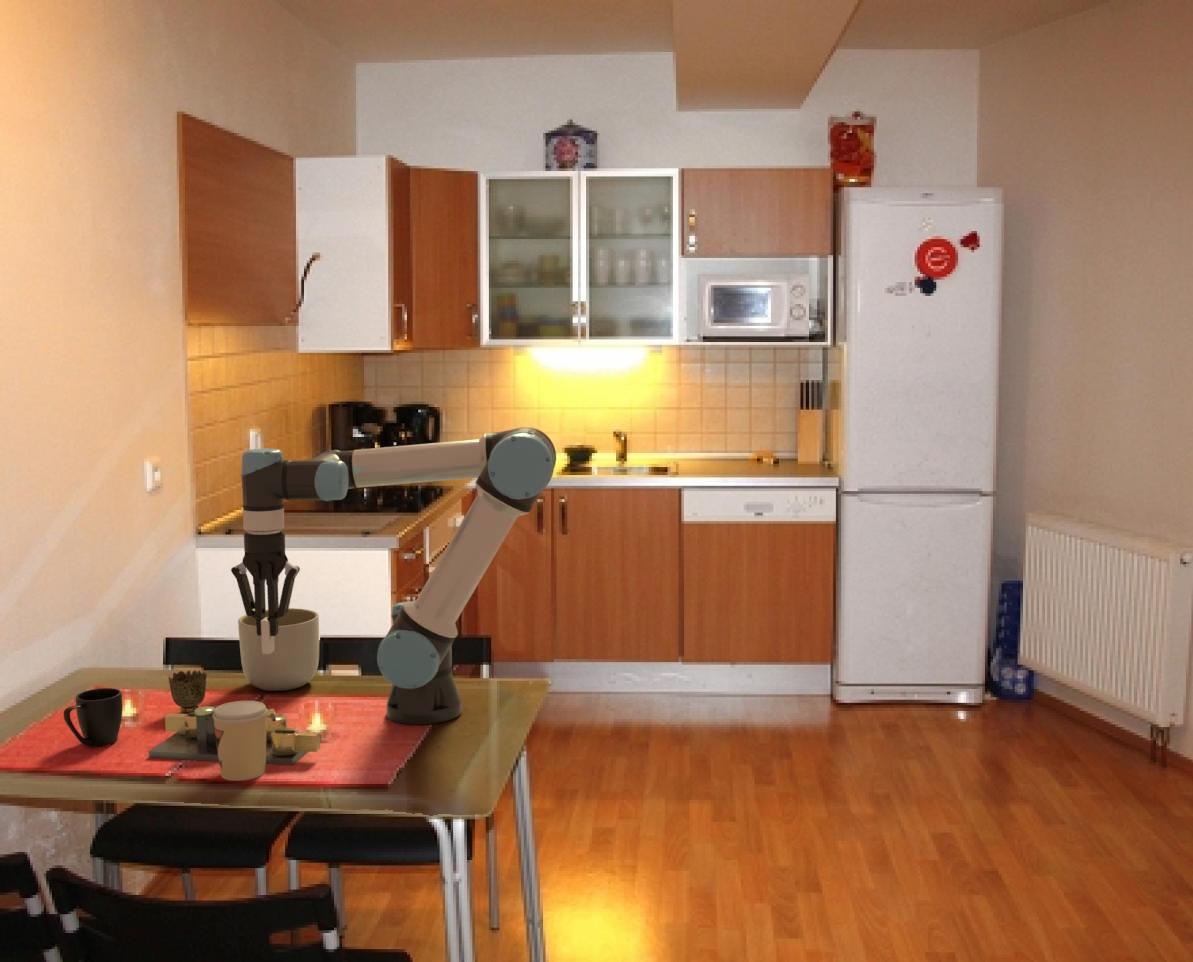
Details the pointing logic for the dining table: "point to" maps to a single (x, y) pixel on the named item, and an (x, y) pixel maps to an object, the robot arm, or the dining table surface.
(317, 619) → the planter
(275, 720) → the knob
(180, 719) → the knob
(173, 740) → the plate
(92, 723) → the mug
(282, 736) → the knob
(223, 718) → the coffee cup
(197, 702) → the cup
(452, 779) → the dining table surface
